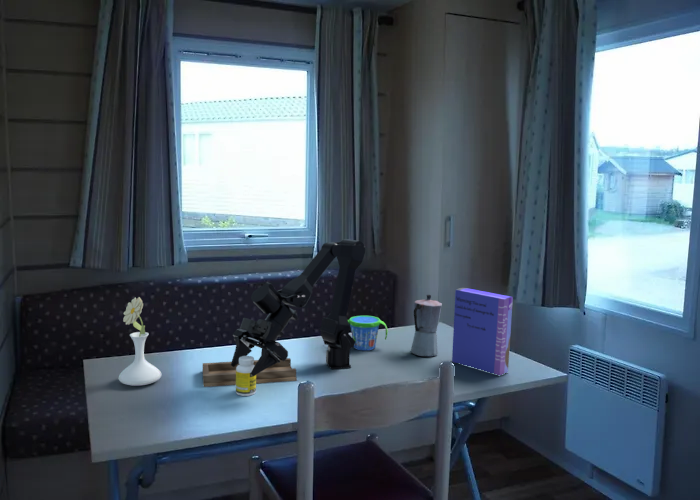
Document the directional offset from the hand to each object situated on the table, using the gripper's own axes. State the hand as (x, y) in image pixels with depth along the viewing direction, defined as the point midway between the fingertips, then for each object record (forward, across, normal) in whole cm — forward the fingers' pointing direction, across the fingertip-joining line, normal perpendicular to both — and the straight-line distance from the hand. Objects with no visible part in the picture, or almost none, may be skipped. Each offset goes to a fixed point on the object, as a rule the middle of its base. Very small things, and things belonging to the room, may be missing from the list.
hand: (241, 370), depth 161 cm
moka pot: (-42, +11, +51) cm, 67 cm away
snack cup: (-34, -7, +44) cm, 56 cm away
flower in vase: (+16, -25, -7) cm, 31 cm away
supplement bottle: (+4, 0, +6) cm, 7 cm away
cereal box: (-43, +30, +53) cm, 75 cm away
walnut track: (-2, -10, +12) cm, 16 cm away
